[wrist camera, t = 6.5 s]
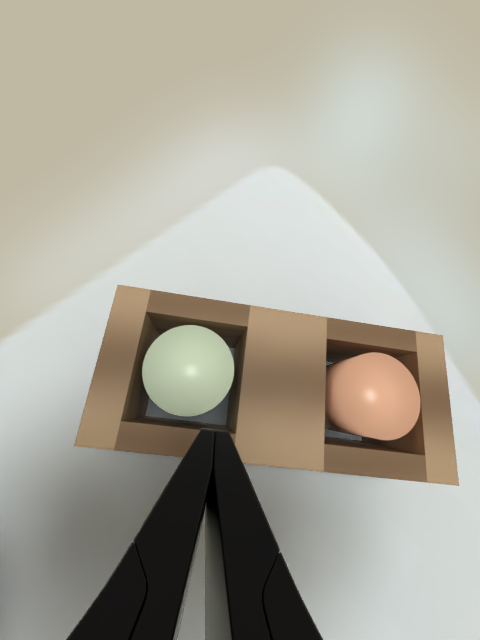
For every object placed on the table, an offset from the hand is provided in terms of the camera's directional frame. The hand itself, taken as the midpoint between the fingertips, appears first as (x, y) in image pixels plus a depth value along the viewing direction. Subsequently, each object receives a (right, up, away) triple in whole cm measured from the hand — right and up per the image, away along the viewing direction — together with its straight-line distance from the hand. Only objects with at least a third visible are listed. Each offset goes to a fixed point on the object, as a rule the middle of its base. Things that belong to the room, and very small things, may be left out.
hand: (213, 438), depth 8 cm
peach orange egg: (+7, -2, +11) cm, 13 cm away
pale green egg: (-2, 0, +10) cm, 10 cm away
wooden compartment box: (+2, -2, +12) cm, 12 cm away
